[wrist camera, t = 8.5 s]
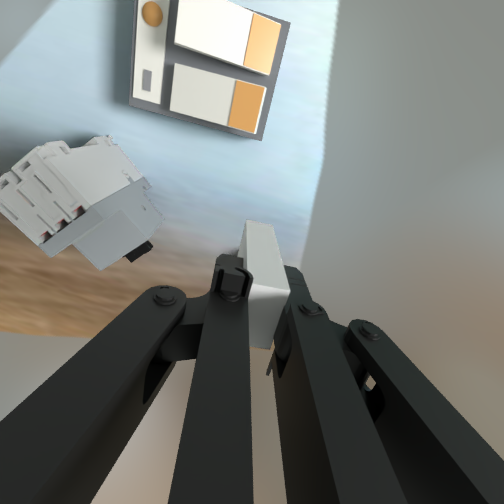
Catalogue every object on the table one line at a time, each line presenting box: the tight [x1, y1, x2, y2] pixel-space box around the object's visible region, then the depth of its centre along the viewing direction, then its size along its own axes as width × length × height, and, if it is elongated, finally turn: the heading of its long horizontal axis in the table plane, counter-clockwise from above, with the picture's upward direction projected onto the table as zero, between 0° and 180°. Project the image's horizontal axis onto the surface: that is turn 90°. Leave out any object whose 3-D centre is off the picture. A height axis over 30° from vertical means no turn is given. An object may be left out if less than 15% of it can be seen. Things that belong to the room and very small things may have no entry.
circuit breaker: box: [0, 135, 164, 271], centre depth 34 cm, size 8×14×15 cm, turn 33°
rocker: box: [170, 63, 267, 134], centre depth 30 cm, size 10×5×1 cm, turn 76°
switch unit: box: [129, 0, 290, 141], centre depth 32 cm, size 16×12×5 cm
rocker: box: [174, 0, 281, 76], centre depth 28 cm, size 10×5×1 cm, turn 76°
